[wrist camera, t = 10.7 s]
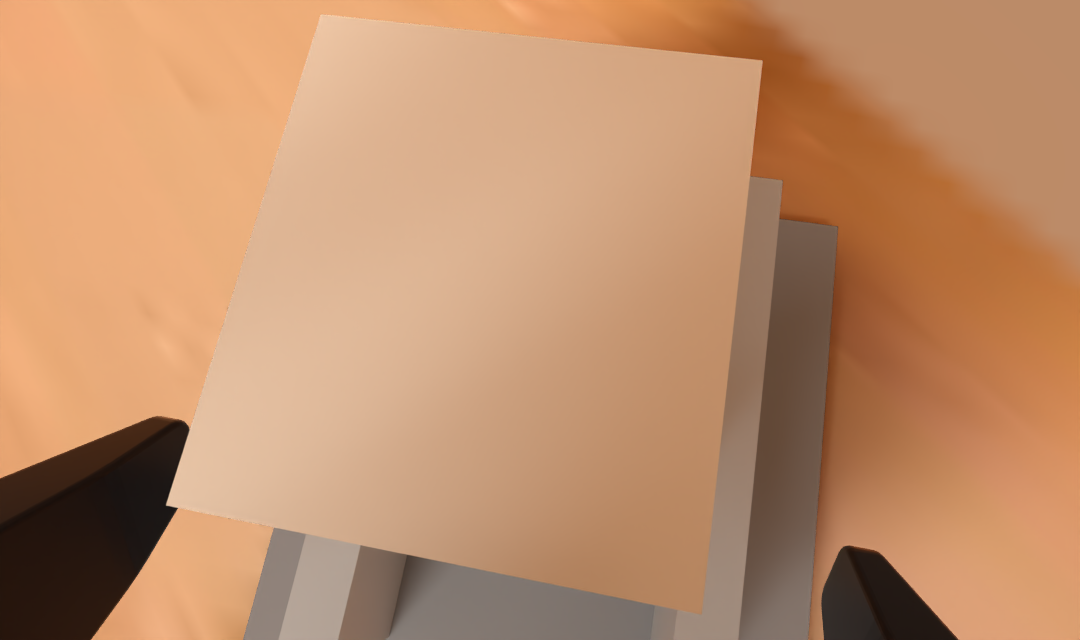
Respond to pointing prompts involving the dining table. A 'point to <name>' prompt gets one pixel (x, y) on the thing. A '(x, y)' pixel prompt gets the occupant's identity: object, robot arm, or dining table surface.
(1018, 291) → the dining table surface
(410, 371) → the cream block
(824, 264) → the slot rack
